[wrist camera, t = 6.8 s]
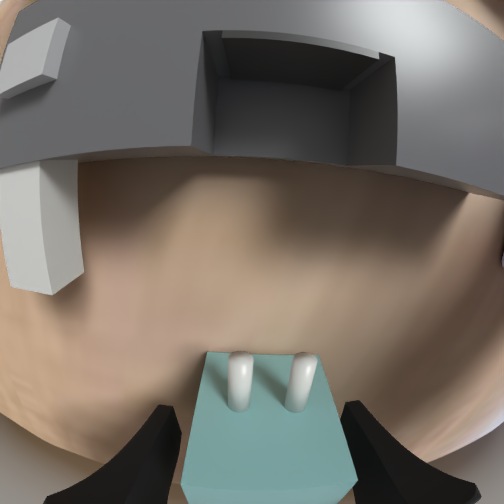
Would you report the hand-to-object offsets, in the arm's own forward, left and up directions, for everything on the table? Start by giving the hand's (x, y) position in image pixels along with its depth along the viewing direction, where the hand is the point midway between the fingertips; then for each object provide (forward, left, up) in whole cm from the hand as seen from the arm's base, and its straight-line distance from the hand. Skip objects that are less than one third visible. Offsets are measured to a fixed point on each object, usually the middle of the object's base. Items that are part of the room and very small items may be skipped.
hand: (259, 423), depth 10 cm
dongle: (+7, -9, 0) cm, 11 cm away
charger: (0, 0, -2) cm, 2 cm away
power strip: (+2, -13, -2) cm, 13 cm away
